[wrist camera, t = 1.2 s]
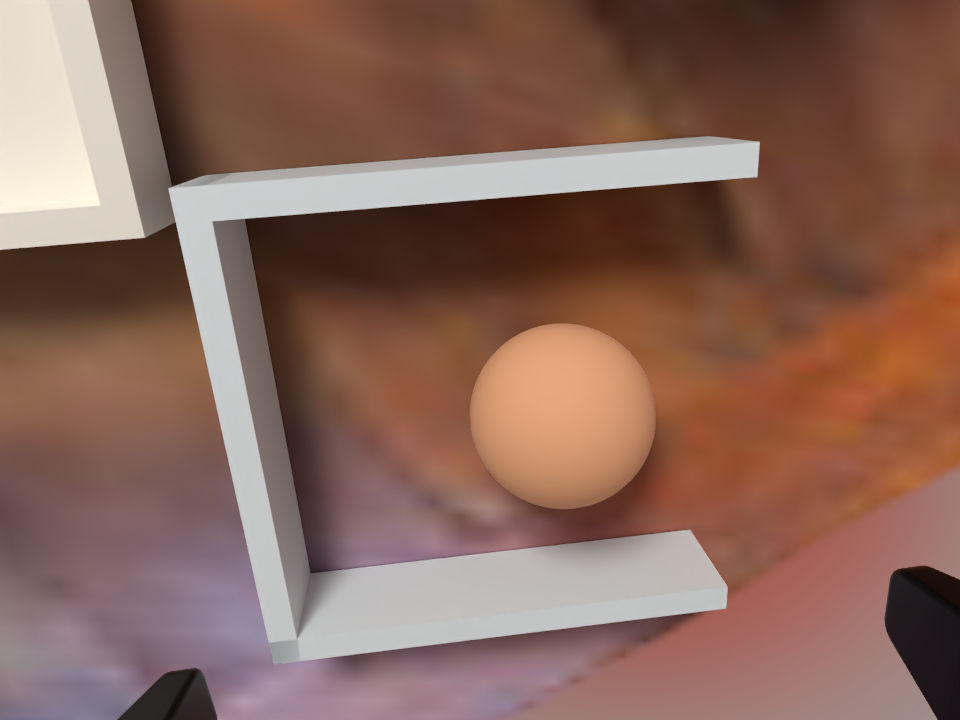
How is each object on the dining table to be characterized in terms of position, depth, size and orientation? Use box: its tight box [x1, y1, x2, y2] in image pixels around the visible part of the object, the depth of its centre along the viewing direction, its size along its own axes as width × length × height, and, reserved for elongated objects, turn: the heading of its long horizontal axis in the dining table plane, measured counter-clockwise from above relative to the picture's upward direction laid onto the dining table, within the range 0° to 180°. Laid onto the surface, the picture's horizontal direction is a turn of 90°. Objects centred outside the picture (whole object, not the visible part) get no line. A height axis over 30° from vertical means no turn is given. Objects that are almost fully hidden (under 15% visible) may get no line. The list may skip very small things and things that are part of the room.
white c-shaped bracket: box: [168, 136, 760, 664], centre depth 20 cm, size 14×14×3 cm
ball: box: [470, 323, 656, 509], centre depth 19 cm, size 5×5×5 cm
